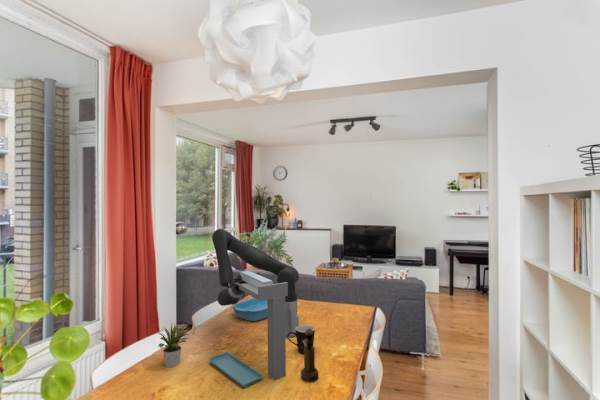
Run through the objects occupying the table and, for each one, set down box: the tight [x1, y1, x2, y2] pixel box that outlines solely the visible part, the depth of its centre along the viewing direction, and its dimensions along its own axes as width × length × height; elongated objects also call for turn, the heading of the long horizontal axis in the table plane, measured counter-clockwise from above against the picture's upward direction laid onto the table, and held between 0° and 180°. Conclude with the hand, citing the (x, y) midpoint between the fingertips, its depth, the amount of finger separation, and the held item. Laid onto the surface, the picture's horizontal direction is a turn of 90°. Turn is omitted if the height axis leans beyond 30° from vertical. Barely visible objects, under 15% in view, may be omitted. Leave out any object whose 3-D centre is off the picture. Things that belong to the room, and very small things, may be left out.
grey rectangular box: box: [239, 270, 274, 288], centre depth 134 cm, size 24×4×3 cm, turn 32°
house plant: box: [157, 322, 189, 368], centre depth 130 cm, size 14×14×16 cm
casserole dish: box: [232, 297, 268, 322], centre depth 194 cm, size 37×22×7 cm, turn 144°
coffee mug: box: [286, 324, 316, 356], centre depth 142 cm, size 12×9×10 cm
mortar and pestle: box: [300, 329, 319, 383], centre depth 120 cm, size 7×6×18 cm
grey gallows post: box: [239, 282, 288, 381], centre depth 128 cm, size 20×12×35 cm, turn 32°
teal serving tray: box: [208, 351, 264, 389], centre depth 125 cm, size 26×9×2 cm, turn 43°
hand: (250, 275), depth 139 cm, fingers open, 8 cm apart
